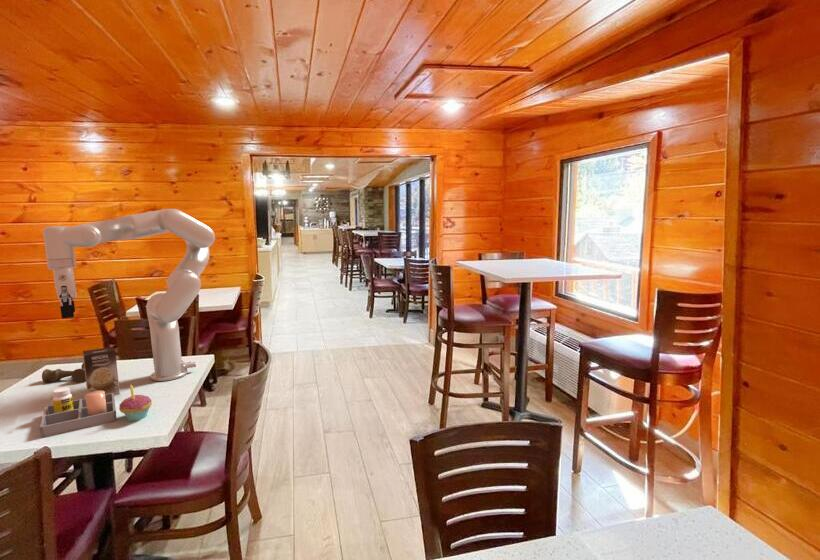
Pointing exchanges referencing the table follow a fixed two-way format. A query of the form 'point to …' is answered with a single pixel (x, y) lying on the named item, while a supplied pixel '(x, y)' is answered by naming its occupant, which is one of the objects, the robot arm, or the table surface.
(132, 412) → the cupcake
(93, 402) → the peach square block
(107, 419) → the carrier
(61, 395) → the supplement bottle
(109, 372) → the coffee box
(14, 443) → the table surface
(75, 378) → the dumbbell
